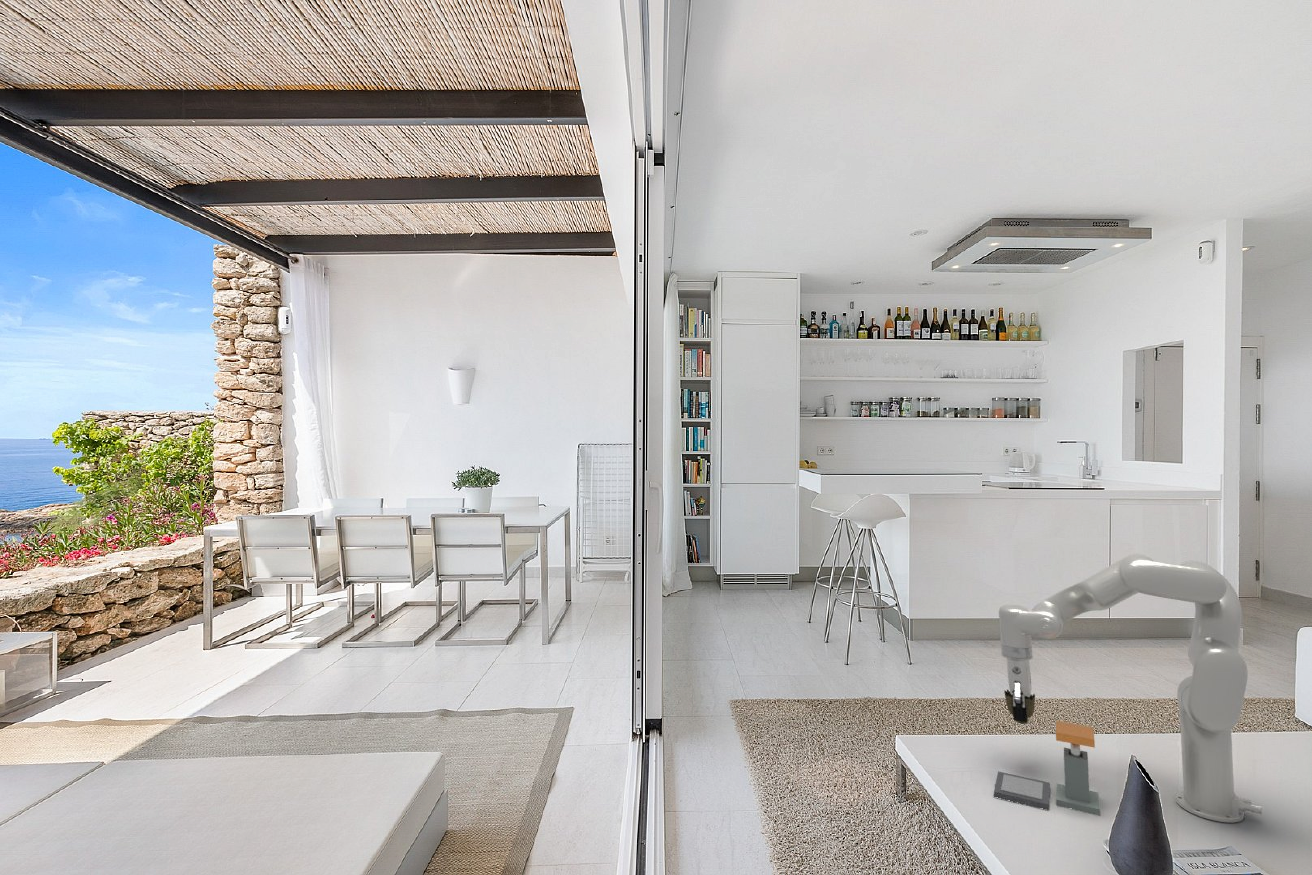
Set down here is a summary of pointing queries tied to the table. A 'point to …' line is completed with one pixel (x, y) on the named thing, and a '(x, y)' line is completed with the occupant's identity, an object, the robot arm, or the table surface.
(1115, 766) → the table surface
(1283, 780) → the table surface
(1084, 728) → the handle
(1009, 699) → the wire cup brush
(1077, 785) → the press stand
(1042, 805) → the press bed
